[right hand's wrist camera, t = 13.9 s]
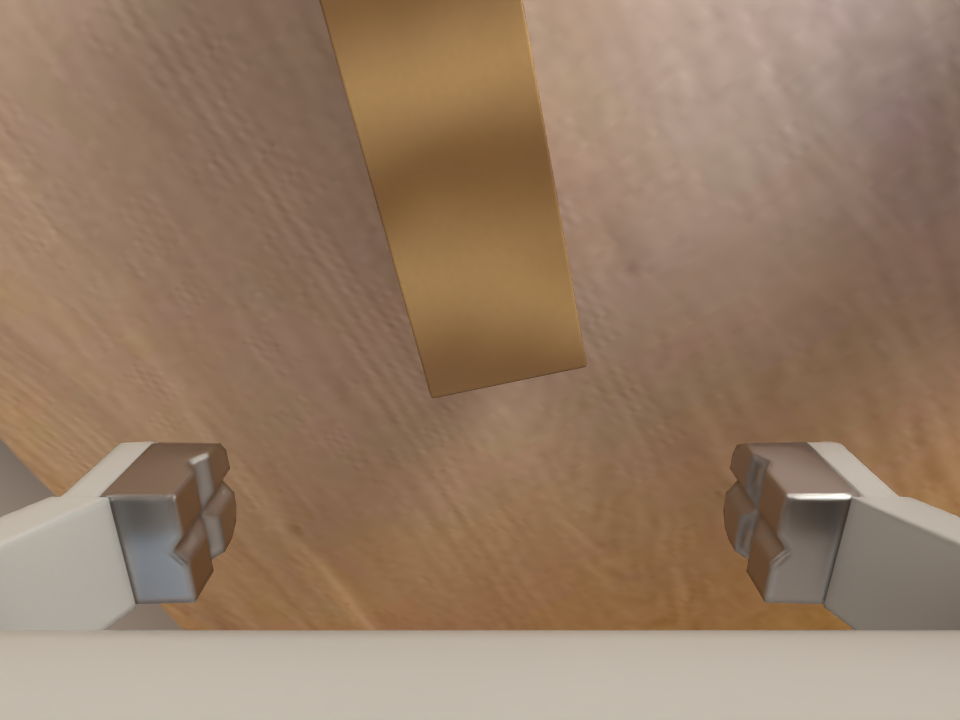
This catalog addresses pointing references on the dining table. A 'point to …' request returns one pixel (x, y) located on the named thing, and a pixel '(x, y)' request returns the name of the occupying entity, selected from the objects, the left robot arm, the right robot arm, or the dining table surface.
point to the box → (462, 184)
